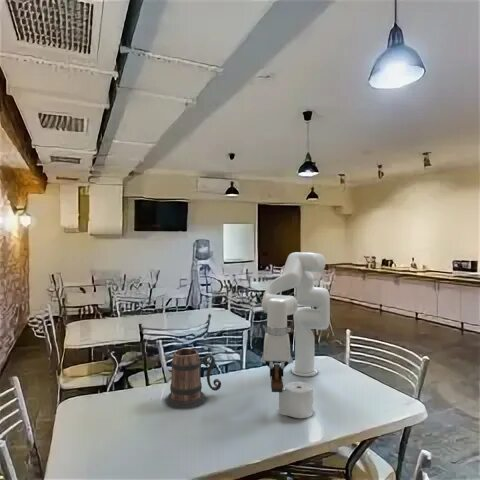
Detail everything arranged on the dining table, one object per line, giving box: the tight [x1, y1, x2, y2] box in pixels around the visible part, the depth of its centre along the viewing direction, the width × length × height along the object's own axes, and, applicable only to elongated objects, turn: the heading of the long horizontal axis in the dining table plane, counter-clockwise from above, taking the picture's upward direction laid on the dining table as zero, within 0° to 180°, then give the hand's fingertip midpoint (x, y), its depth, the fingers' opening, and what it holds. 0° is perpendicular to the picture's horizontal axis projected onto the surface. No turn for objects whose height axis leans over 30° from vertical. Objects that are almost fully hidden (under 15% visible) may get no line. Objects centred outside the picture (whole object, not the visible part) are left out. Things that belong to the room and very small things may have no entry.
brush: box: [269, 362, 284, 393], centre depth 158 cm, size 11×4×9 cm, turn 178°
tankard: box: [165, 347, 222, 410], centre depth 170 cm, size 24×17×20 cm
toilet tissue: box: [278, 381, 314, 419], centre depth 158 cm, size 11×12×10 cm
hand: (276, 377), depth 158 cm, fingers closed on brush, 2 cm apart
